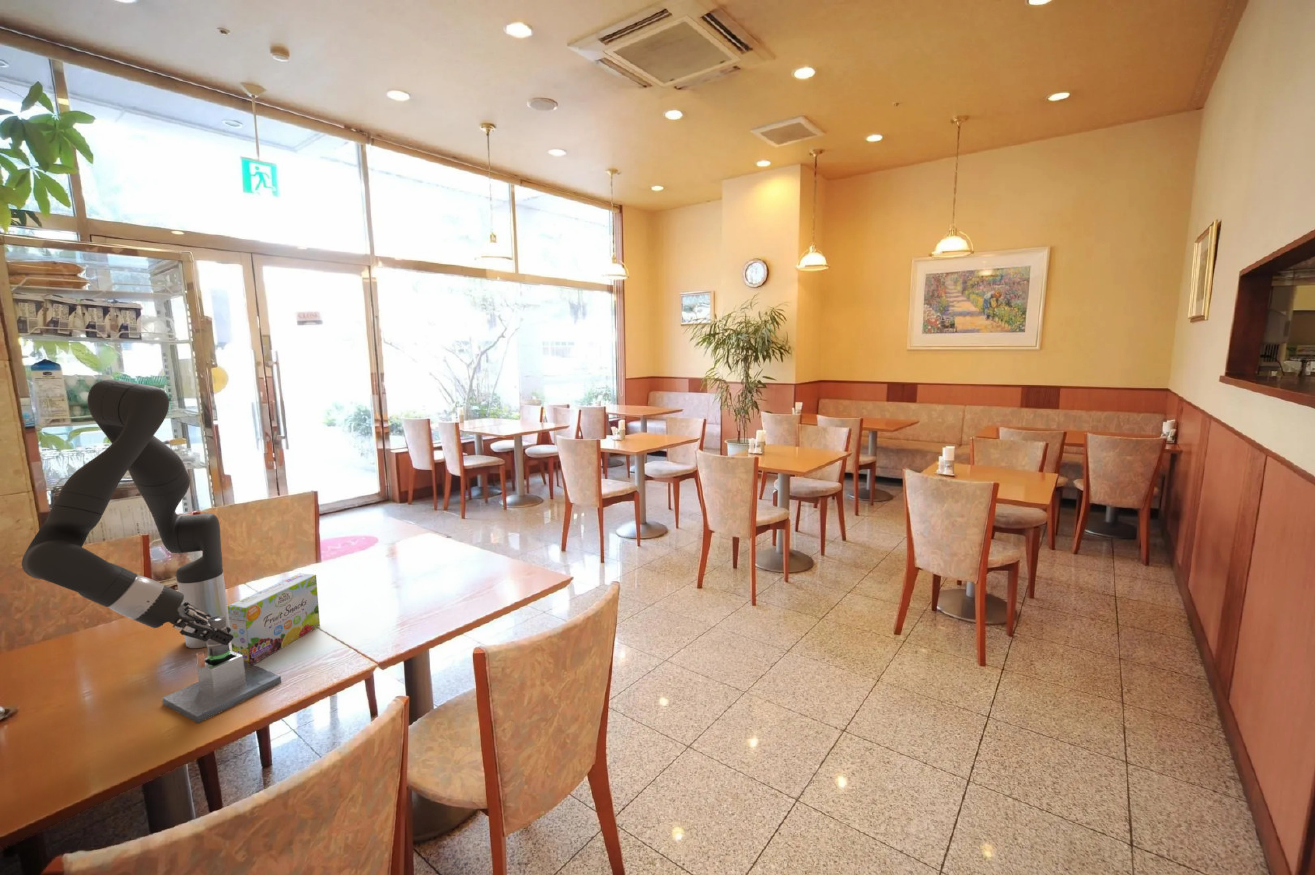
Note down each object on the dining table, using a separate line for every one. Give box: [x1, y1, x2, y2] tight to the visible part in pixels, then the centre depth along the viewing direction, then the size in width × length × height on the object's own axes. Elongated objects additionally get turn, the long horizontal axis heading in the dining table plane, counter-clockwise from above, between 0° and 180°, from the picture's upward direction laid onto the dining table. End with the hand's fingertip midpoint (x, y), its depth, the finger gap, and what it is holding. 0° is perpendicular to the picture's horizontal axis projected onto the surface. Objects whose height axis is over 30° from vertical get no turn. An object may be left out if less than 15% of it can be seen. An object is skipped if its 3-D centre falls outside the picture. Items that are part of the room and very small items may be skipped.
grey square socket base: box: [161, 649, 282, 724], centre depth 122 cm, size 14×16×11 cm
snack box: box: [227, 573, 321, 665], centre depth 143 cm, size 21×6×15 cm, turn 168°
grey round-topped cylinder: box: [205, 616, 231, 666], centre depth 122 cm, size 4×4×12 cm
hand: (228, 637), depth 123 cm, fingers closed on grey round-topped cylinder, 3 cm apart
